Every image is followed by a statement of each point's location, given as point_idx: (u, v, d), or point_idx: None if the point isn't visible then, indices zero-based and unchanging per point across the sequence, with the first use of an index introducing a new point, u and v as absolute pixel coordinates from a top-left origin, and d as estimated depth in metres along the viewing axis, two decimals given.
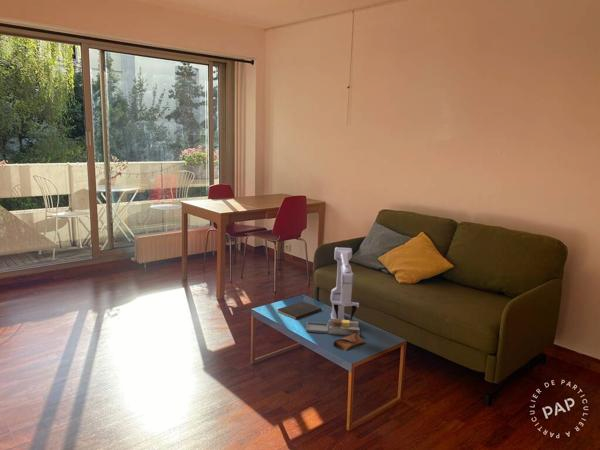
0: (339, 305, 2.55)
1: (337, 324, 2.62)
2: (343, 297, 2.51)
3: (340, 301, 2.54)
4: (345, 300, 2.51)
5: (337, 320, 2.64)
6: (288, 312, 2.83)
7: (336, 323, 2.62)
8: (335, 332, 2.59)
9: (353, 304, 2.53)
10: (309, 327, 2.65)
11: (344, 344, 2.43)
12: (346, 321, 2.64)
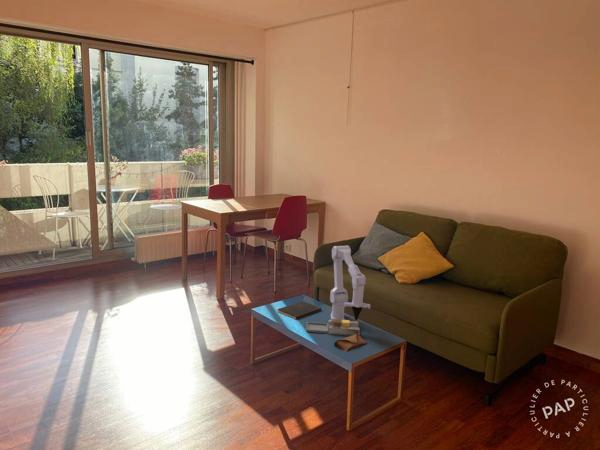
0: (351, 306, 2.62)
1: (337, 324, 2.62)
2: (355, 298, 2.59)
3: (352, 302, 2.61)
4: (357, 301, 2.59)
5: (337, 320, 2.64)
6: (288, 312, 2.83)
7: (336, 323, 2.62)
8: (335, 332, 2.59)
9: (365, 305, 2.60)
10: (309, 327, 2.65)
11: (345, 344, 2.42)
12: (346, 321, 2.64)
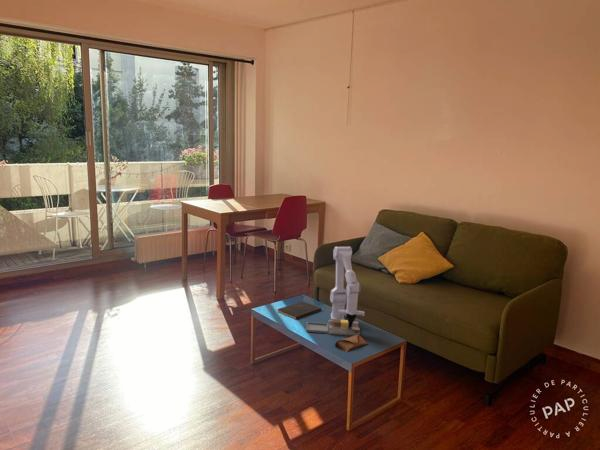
0: None
1: (337, 324, 2.62)
2: (349, 306, 2.60)
3: (346, 310, 2.62)
4: (351, 308, 2.60)
5: (337, 320, 2.64)
6: (288, 312, 2.83)
7: (336, 323, 2.62)
8: (335, 332, 2.59)
9: (359, 313, 2.61)
10: (309, 327, 2.65)
11: (345, 345, 2.42)
12: (345, 321, 2.64)
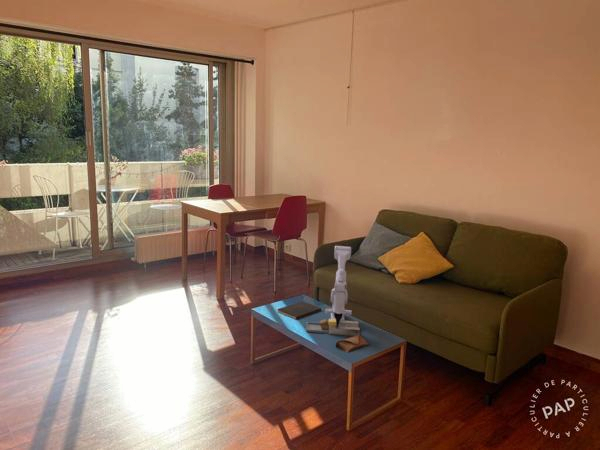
0: (332, 313, 2.63)
1: (324, 325, 2.63)
2: (336, 305, 2.60)
3: (333, 309, 2.62)
4: (338, 307, 2.60)
5: (323, 320, 2.65)
6: (288, 312, 2.83)
7: (323, 323, 2.62)
8: (335, 332, 2.59)
9: (346, 312, 2.61)
10: (309, 327, 2.65)
11: (346, 345, 2.41)
12: (333, 320, 2.64)
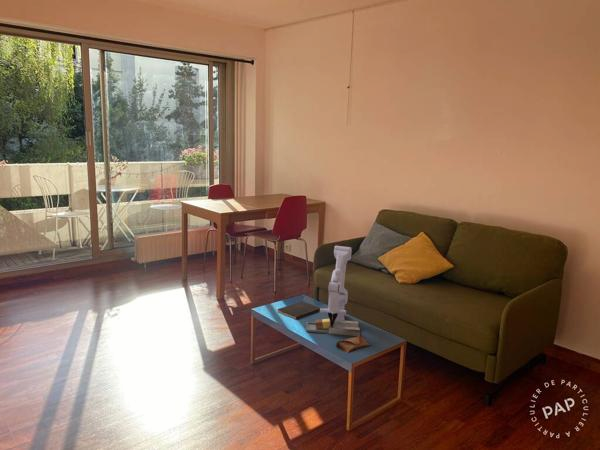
0: (327, 312, 2.63)
1: (319, 325, 2.63)
2: (331, 305, 2.60)
3: (328, 309, 2.62)
4: (333, 307, 2.60)
5: (319, 320, 2.65)
6: (288, 312, 2.83)
7: (318, 323, 2.63)
8: (335, 332, 2.59)
9: (340, 311, 2.61)
10: (309, 327, 2.65)
11: (346, 346, 2.41)
12: (326, 320, 2.64)
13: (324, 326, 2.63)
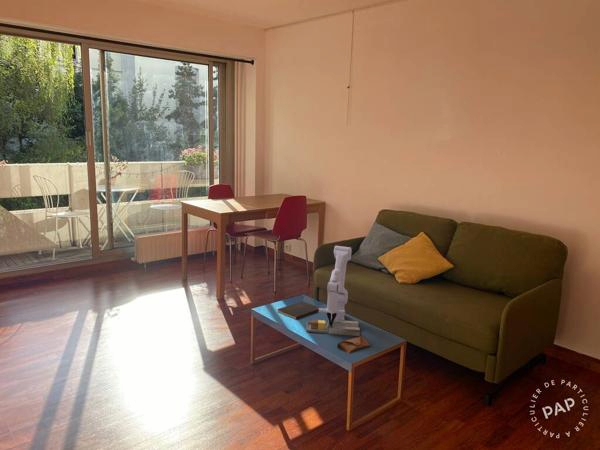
0: (326, 312, 2.63)
1: (314, 325, 2.63)
2: (329, 305, 2.60)
3: (327, 308, 2.62)
4: (332, 307, 2.60)
5: (315, 320, 2.65)
6: (288, 312, 2.83)
7: (314, 323, 2.63)
8: (335, 332, 2.59)
9: (339, 311, 2.61)
10: (309, 327, 2.65)
11: (347, 346, 2.40)
12: (322, 321, 2.64)
13: (319, 327, 2.63)
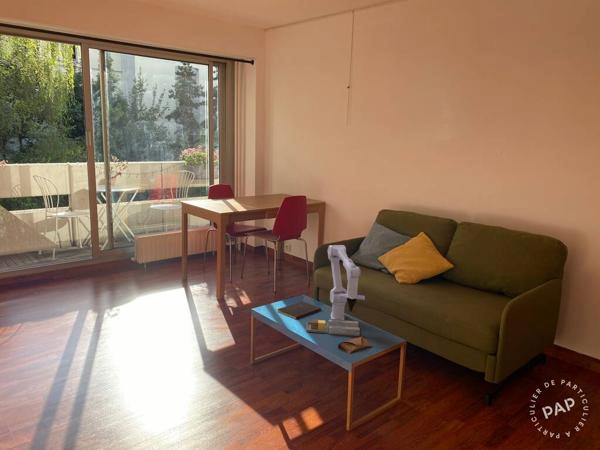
0: (346, 298, 2.65)
1: (314, 325, 2.63)
2: (350, 290, 2.62)
3: (347, 294, 2.64)
4: (352, 293, 2.62)
5: (315, 320, 2.65)
6: (288, 312, 2.83)
7: (314, 323, 2.63)
8: (335, 332, 2.59)
9: (359, 297, 2.64)
10: (309, 327, 2.65)
11: (348, 347, 2.40)
12: (322, 321, 2.64)
13: (319, 327, 2.63)
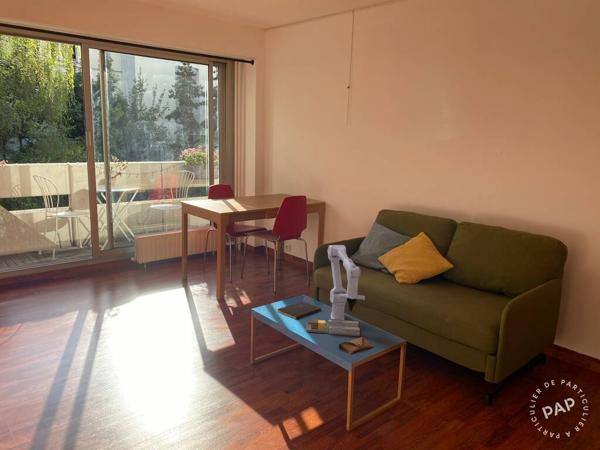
0: (346, 298, 2.65)
1: (314, 325, 2.63)
2: (350, 290, 2.62)
3: (347, 294, 2.64)
4: (352, 293, 2.62)
5: (315, 320, 2.65)
6: (288, 312, 2.83)
7: (314, 323, 2.63)
8: (335, 332, 2.59)
9: (359, 297, 2.64)
10: (309, 327, 2.65)
11: (349, 347, 2.39)
12: (322, 321, 2.64)
13: (319, 327, 2.63)
